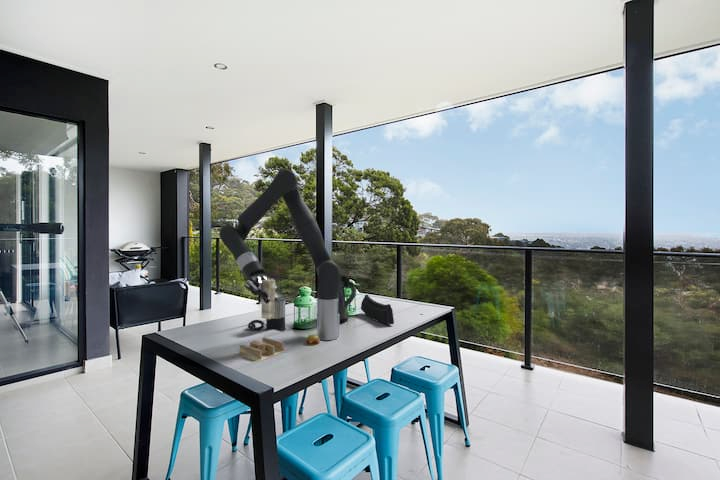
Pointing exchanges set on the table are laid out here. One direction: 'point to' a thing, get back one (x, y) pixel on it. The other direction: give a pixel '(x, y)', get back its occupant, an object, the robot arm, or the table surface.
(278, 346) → the pine rack
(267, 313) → the tall birch block
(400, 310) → the table surface
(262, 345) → the offcut stack
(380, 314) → the magazine
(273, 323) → the milk frother
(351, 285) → the beer stein
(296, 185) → the robot arm
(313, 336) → the hamburger
